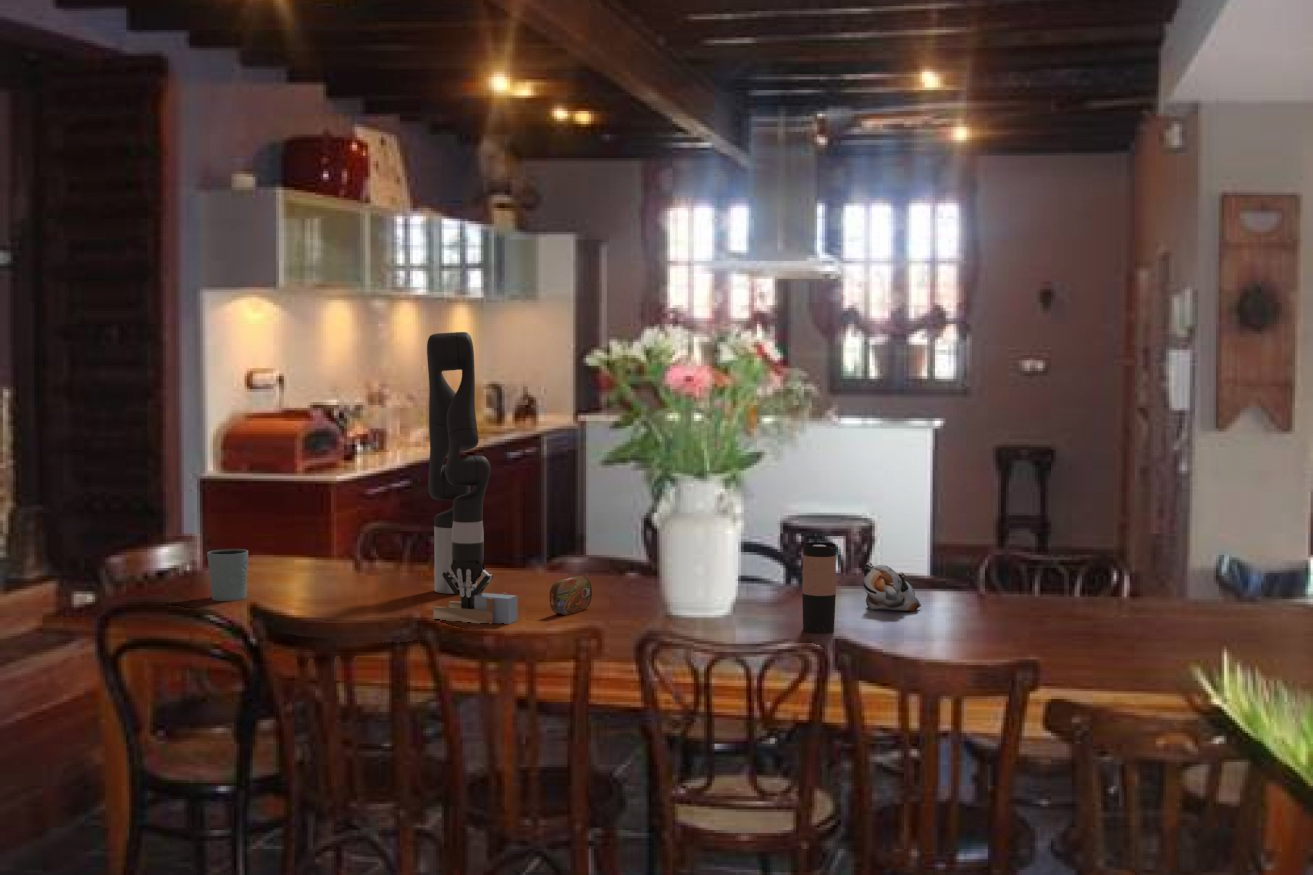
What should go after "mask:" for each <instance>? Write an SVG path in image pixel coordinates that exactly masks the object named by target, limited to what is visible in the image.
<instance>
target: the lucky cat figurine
mask: <svg viewBox="0 0 1313 875" xmlns="http://www.w3.org/2000/svg"><path fill="white" fill-rule="evenodd" d="M863 572H864V573H863V574H864V575H863V589H864V590H865V593H866V598H865V604H866V606H867V607H868V608H869V609H870V610H872V611H874V610H877V611H878V610H887V611H904V612H911V613H913V612H916V611H917V610H918V609H919V608H920V607H922V603H921V602H920V600H919V599H918V598H917V597H916V594H915V593H916V592H915V590H914V588H913V586H912V585H911V584H910V583H909V582H907V581H906V580H905V579H906V575H905V574H904V572H899V573H898V572H896V571H895V570H894V569H893V568H891V566H890V567H889V566H888V565H886V564H884V565H883V564H878V565H877V564H876V565H873V564H872V562H867V563H864V569H863Z"/></svg>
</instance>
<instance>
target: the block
mask: <svg viewBox="0 0 1313 875" xmlns="http://www.w3.org/2000/svg"><path fill="white" fill-rule="evenodd" d="M487 598H494V622H495V623H494V624H501V623H504V625H510V624H512V623H515V622H518V619H519V618H518V617H519V616H518V614H519V613H518V612H519V610H518V608H519V607H518V606H519V605H518V602H519V600H518V595H515V594H513V595H512V594H508V595H503V594H501V593H487V592H482V593H481V594H478V595H476V596H475V598H474V603H475V609H477V610H487Z"/></svg>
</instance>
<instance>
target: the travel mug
mask: <svg viewBox="0 0 1313 875" xmlns="http://www.w3.org/2000/svg"><path fill="white" fill-rule="evenodd" d="M802 546H803V549H802V551H803V552H802V595H801V598H802V600H801V601H802V605H801V606H802V631H803V632H807V633H810V632H812V633H811V634H829V633H828V632H830V633H834V631H835V616H836V615H835V614H836V595H837V594H836V593H837V592H836V591H837V590H836V589H837V586H836V585H837V582H836V581H837V575H836V574H837V573H836V572H837V571H836V570H837V558H836V557H837V545H836V543H834V542H824V541H808V542H804V543H803V544H802Z"/></svg>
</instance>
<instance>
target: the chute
mask: <svg viewBox="0 0 1313 875" xmlns="http://www.w3.org/2000/svg"><path fill="white" fill-rule="evenodd" d="M500 594H503V595H509V592H501V593H500ZM432 609H433V620H434V619H440V620H439V621H442V620H446V621H447V622H455V621H462V622H461V623H467V622H471V623H470V624H480V623H489V624H488V625H493V624H492V623H494V598H487V610H477V609H475V602H474V609H463V608H461V601H458V600H457V601H454V600H450V601H448V607H447V606H438V605H437V606H433V608H432ZM494 624H495V623H494Z"/></svg>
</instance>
